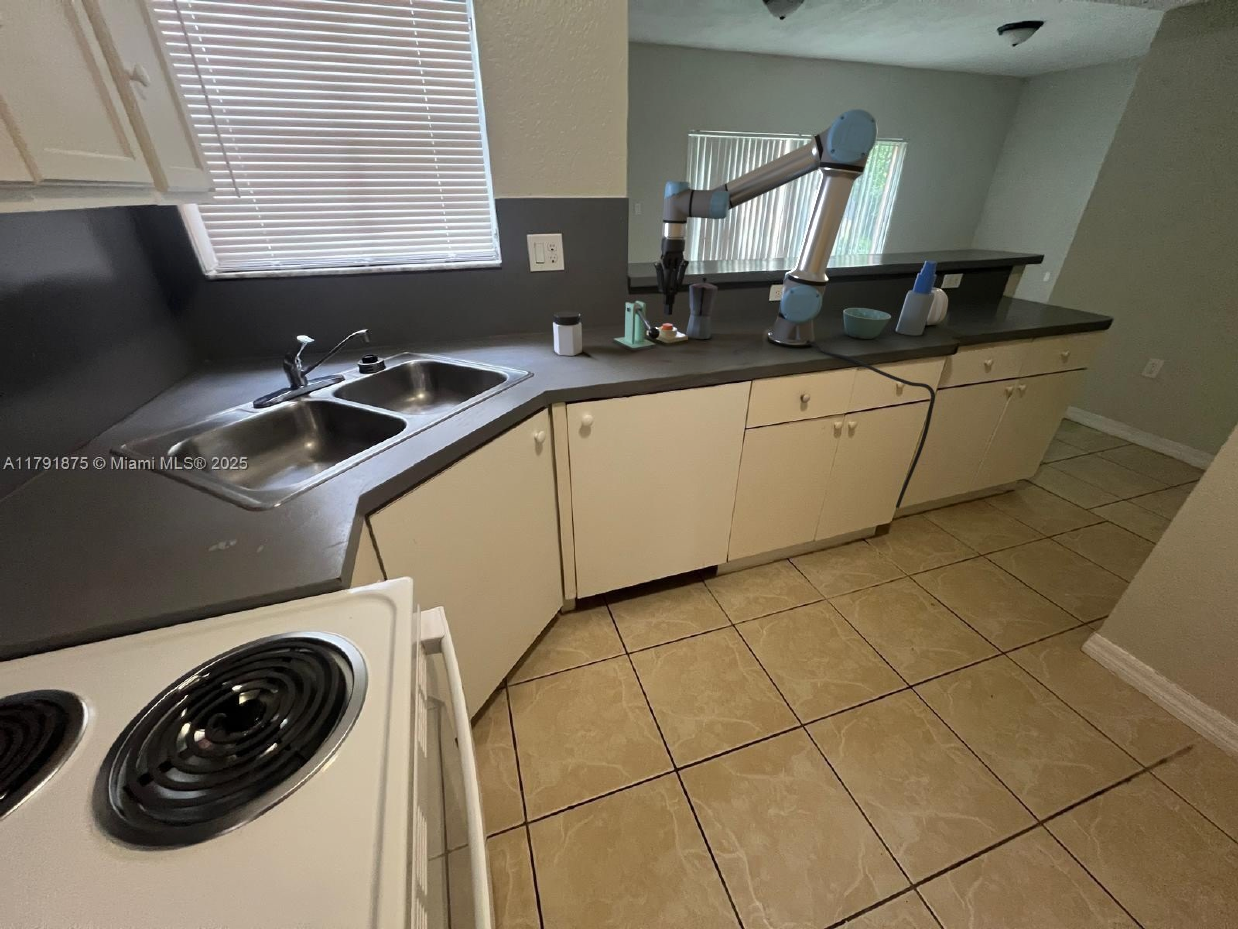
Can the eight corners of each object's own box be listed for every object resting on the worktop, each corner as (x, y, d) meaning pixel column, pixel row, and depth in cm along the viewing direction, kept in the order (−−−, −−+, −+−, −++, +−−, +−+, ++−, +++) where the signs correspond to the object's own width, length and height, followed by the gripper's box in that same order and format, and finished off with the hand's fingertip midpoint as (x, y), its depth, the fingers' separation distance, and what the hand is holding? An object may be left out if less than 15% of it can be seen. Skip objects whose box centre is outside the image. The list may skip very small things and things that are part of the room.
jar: (585, 354, 154) (584, 316, 148) (561, 357, 151) (559, 318, 145) (575, 346, 161) (574, 309, 155) (551, 349, 158) (549, 311, 152)
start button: (674, 330, 167) (675, 325, 166) (666, 331, 165) (666, 326, 164) (668, 327, 170) (668, 322, 169) (660, 329, 168) (660, 323, 167)
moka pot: (710, 332, 179) (717, 274, 169) (713, 344, 166) (720, 283, 156) (684, 330, 180) (689, 273, 170) (685, 343, 167) (691, 281, 156)
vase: (911, 317, 204) (922, 283, 197) (947, 324, 195) (959, 289, 188) (896, 322, 196) (907, 287, 190) (933, 329, 187) (945, 293, 180)
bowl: (893, 337, 176) (900, 314, 172) (868, 344, 169) (875, 320, 164) (854, 327, 187) (860, 306, 183) (829, 333, 180) (834, 311, 176)
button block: (687, 342, 167) (688, 331, 165) (666, 346, 163) (667, 334, 161) (666, 334, 176) (667, 322, 174) (646, 337, 172) (646, 326, 170)
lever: (659, 340, 154) (663, 331, 152) (650, 342, 153) (654, 333, 150) (636, 309, 161) (639, 300, 158) (627, 310, 159) (630, 301, 156)
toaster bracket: (655, 347, 162) (657, 304, 155) (633, 351, 158) (634, 308, 150) (635, 338, 170) (636, 297, 163) (613, 342, 166) (614, 300, 159)
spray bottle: (897, 327, 189) (918, 258, 176) (923, 331, 185) (946, 261, 172) (894, 332, 182) (916, 261, 170) (921, 336, 178) (945, 264, 166)
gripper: (682, 235, 158) (676, 309, 171) (649, 237, 152) (645, 313, 164) (697, 238, 153) (689, 314, 165) (664, 239, 147) (659, 318, 159)
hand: (667, 313), depth 165 cm, fingers closed
